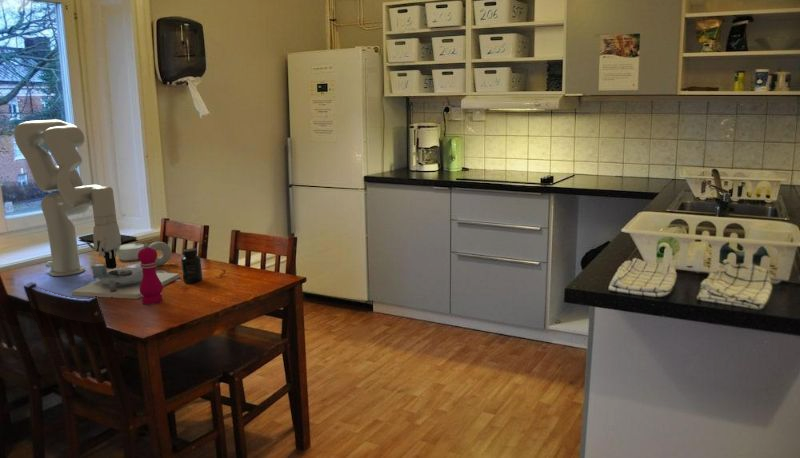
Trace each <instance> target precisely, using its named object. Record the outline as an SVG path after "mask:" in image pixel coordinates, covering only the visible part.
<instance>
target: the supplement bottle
mask: <svg viewBox="0 0 800 458" xmlns="http://www.w3.org/2000/svg"><path fill="white" fill-rule="evenodd" d="M197 250H198V249H197V248H186V249H183V250H182V255H183V257H182V258H181V261H180V263H181V272H182V281H183V283H185V284H187V285H189V284H197V283H200V282H202V281H203V271H202V261H201V260H202V259H201V257H200V256H199V255H198V251H197Z"/></svg>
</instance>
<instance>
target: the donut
mask: <svg viewBox="0 0 800 458" xmlns="http://www.w3.org/2000/svg"><path fill="white" fill-rule="evenodd" d="M149 248H153V249H155V251H156V252H157V251H161V252H162V254H161V256H160V257H157V258H156V260H155V261H156V264H157V266H160V267H161V266H163V265H165V264H166V263H168V261H169V260H170V259H171V257H172V250H171V248H170V246H169V244H167V243H166V242H163V241H154V242H152V243H150V244H149ZM157 266H156V267H157Z"/></svg>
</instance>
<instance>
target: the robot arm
mask: <svg viewBox="0 0 800 458" xmlns="http://www.w3.org/2000/svg"><path fill="white" fill-rule="evenodd" d="M14 141H15V144H16V146H17V148H18V150H19V151H20V153H21V154H22V156H23V157H24V158H25V161H26V162H27V165H28V168H29V169H30V173H31V175H32V177H33V179H34V182H35V185H36V186H37V188H38V189H39V190H40V191H42V192H45V193H46V192H54V193H50V194H47V195H45V196H44V197H43V198H42V199H41V201H40V207H41V212H42V213H43V216H44V219H45V222H46V223H45V225H46V228H47V233H48V240H49V241H48V242H49V247H50V256H51V261H50V260H49V261H47V263H45V268H50V270H49V273H48V274H49V276H52V277H67V276H72V275H76V274H80V273H83V272H85V270H86V269H85V266H84V265H81V261H80V254H79V248H78V247H79V246H77V245H78V239H77V233H76V227H75V225H74V223H73V222H72V221H71V219H70V218H69V217H70V216H74V215H75V216H76V215H79V214H83V213H86V212H87V211H88V210H89V209H90V206H91V207H92V213H93V220H94V225H93V233H92V234H93V239H94V241H93V242H94V243H93V247H94V249H95V250H94V249H93V250H94V252H97V253H98V256H99V257H100V256H101V257H103V258H104V260H105V265H106V270H108V269H111V270H113V269H116V268H117V262H116V261H117V260H116V257H117V251H118V250H119V249H120V246H121V245H122V243H121V237H120V234H121V231H120V228H119V224H118V221H117V213H116V204H115V196H114V190H113V188H112V187H111V186H109V185H106V186H105V185H100V184H89V185H84V182H83V180H82V178H81V176H80V174H79V172H78V171H77V168H78V167H80V166H81V165H82V162H83V158H82V157H81V155H80V153H79V152H78V149H77V148H79V147H82V146H83V145H84V143H85V134H84V132H83V130H82V129H81V128H79V126H77V125H74V124H72V123H69V122H66V121H63V120H61V119H46V120H45V119H43V120H29V121H24V122H21V123H19V124H18V125H16V127H15V129H14ZM41 143H43V144H45V145H46V148H47V149H48V151H49V152H48V151H47V150H46V149H45V148H44V147H43V146H41V145H40V144H41ZM52 158H53V159H52ZM53 160H54V161H55V163H56V164H57V165H56V164H55V163H54V161H53ZM55 191H58V192H55Z"/></svg>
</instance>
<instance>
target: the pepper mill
mask: <svg viewBox="0 0 800 458" xmlns="http://www.w3.org/2000/svg"><path fill="white" fill-rule="evenodd" d="M143 245H144V248H143V249H141V250H140V251H139V253H138V259H137V260H138V261H140V268H142V270H143V278H142V281H141V284H140V293H141V294H142V295H143V296H142V297H141V300H142V303H143V304H144V305H156V304H159V303H161V302H162V301H163V295H162V292H163V290H164V286H162V283H161V281H160V280H159V278H158V276H157V274H156V273H157V270H156V267H157V264H156V261H155V260H156V258H158V253H157V251H155V249H153V248H149V245H150V243H144V244H143Z"/></svg>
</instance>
